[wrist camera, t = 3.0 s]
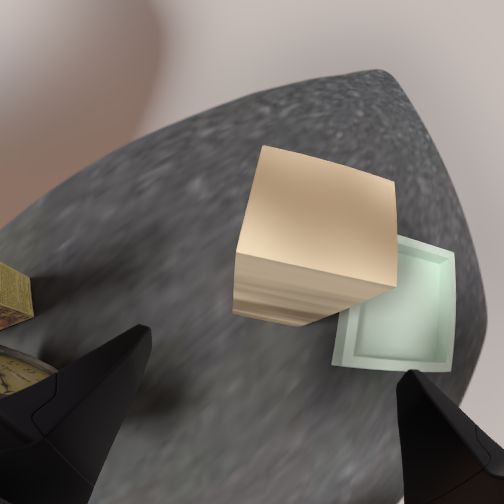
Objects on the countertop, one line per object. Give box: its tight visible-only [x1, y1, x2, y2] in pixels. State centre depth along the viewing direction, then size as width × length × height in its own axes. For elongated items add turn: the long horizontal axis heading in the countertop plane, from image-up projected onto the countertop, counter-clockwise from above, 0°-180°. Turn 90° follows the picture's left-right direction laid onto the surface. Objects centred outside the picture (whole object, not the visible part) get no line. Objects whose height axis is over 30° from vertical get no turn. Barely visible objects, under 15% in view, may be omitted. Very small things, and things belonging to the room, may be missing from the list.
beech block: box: [233, 145, 397, 327], centre depth 14 cm, size 4×5×13 cm
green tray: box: [331, 235, 456, 372], centre depth 20 cm, size 11×11×2 cm
